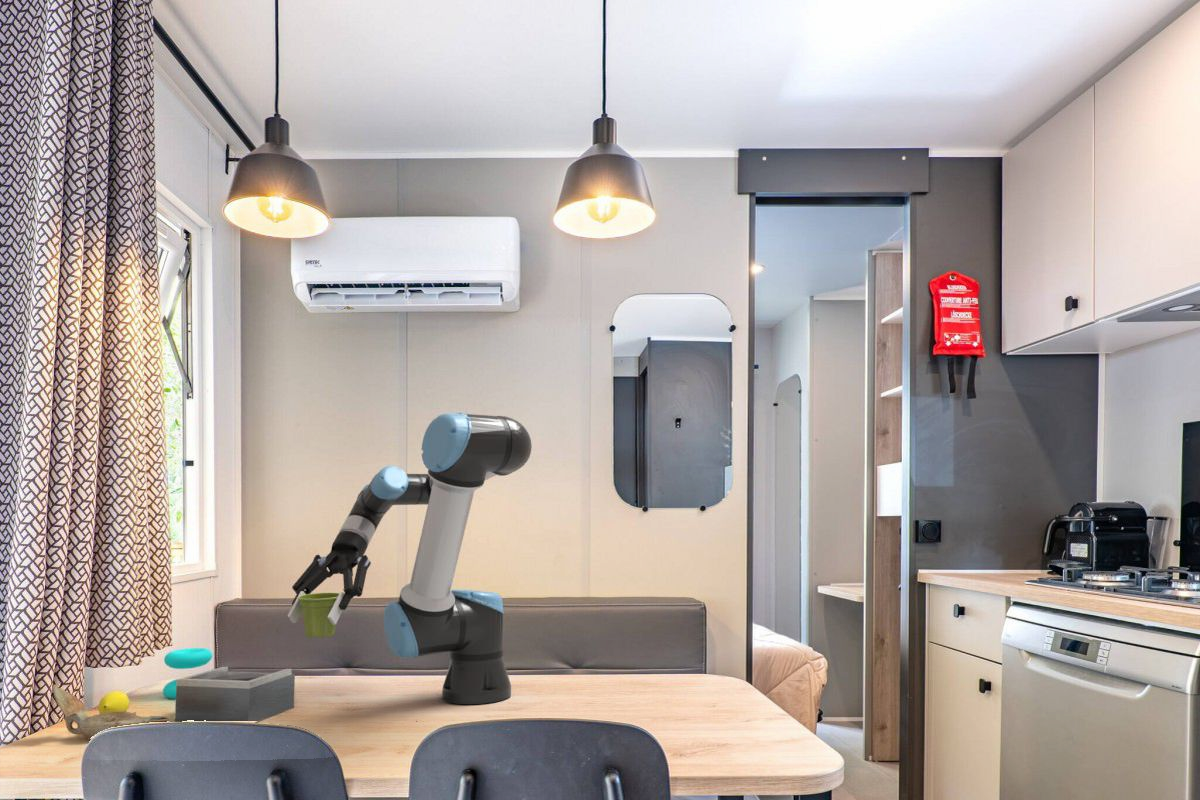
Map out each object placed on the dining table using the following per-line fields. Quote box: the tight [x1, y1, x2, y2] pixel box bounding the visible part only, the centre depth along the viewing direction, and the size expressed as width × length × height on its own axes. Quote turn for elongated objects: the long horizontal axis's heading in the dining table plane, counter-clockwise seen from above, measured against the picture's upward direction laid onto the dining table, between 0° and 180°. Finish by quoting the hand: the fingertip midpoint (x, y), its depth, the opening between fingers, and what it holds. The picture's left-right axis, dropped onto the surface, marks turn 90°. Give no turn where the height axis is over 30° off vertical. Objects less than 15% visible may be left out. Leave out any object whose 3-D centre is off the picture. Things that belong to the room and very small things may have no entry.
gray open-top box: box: [174, 666, 296, 722], centre depth 173 cm, size 20×15×8 cm
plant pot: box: [298, 592, 340, 639], centre depth 182 cm, size 9×9×9 cm
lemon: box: [97, 690, 130, 714], centre depth 171 cm, size 7×5×5 cm
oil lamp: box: [52, 684, 171, 740], centre depth 157 cm, size 9×21×10 cm, turn 95°
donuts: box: [162, 647, 213, 700], centre depth 192 cm, size 10×10×10 cm
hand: (311, 620), depth 179 cm, fingers closed on plant pot, 9 cm apart
